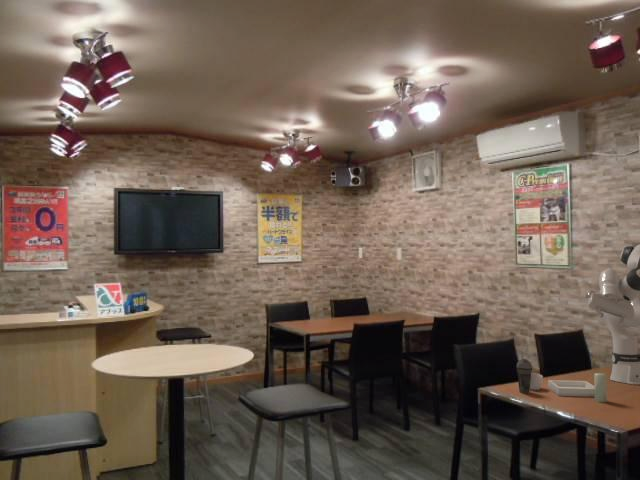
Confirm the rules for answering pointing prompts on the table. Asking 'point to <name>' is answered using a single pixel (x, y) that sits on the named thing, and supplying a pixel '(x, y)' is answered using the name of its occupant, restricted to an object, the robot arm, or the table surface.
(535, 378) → the candle
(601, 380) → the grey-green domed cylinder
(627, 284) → the robot arm
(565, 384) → the tray
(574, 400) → the table surface
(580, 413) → the table surface
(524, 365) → the beverage cup
